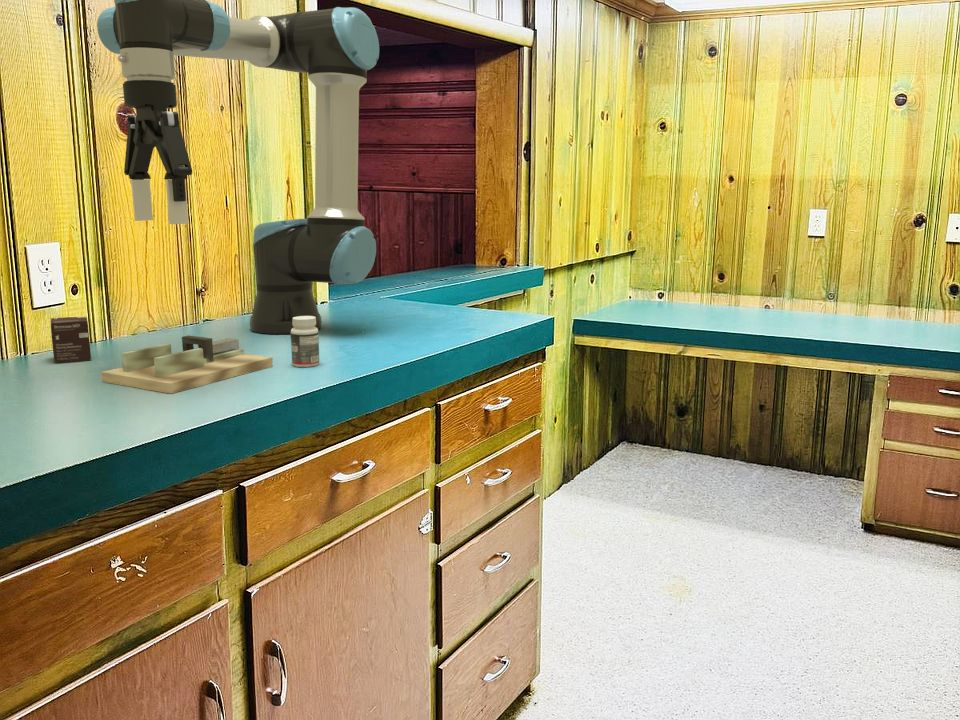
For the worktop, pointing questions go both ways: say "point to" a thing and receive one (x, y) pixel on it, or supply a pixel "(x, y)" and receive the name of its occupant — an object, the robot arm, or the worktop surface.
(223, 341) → the pin
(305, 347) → the pill bottle
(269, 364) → the mount
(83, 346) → the box
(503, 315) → the worktop surface
